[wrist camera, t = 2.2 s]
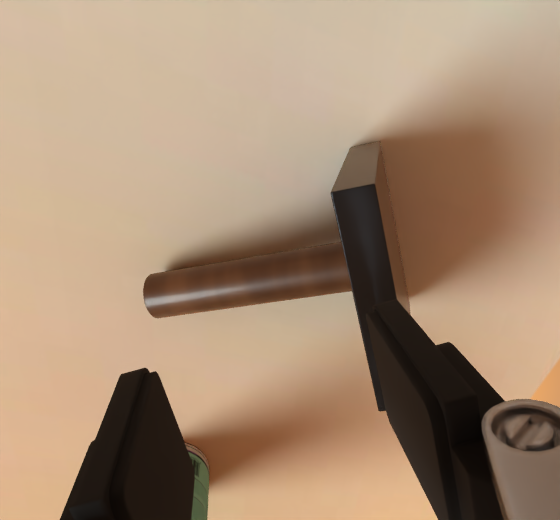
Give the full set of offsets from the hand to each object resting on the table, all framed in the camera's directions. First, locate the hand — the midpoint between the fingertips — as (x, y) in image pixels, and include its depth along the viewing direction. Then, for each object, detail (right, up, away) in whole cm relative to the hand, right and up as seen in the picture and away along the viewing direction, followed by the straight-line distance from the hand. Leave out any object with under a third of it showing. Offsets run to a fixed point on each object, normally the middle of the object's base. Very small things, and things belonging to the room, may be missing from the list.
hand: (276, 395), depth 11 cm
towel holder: (0, +3, +24) cm, 24 cm away
